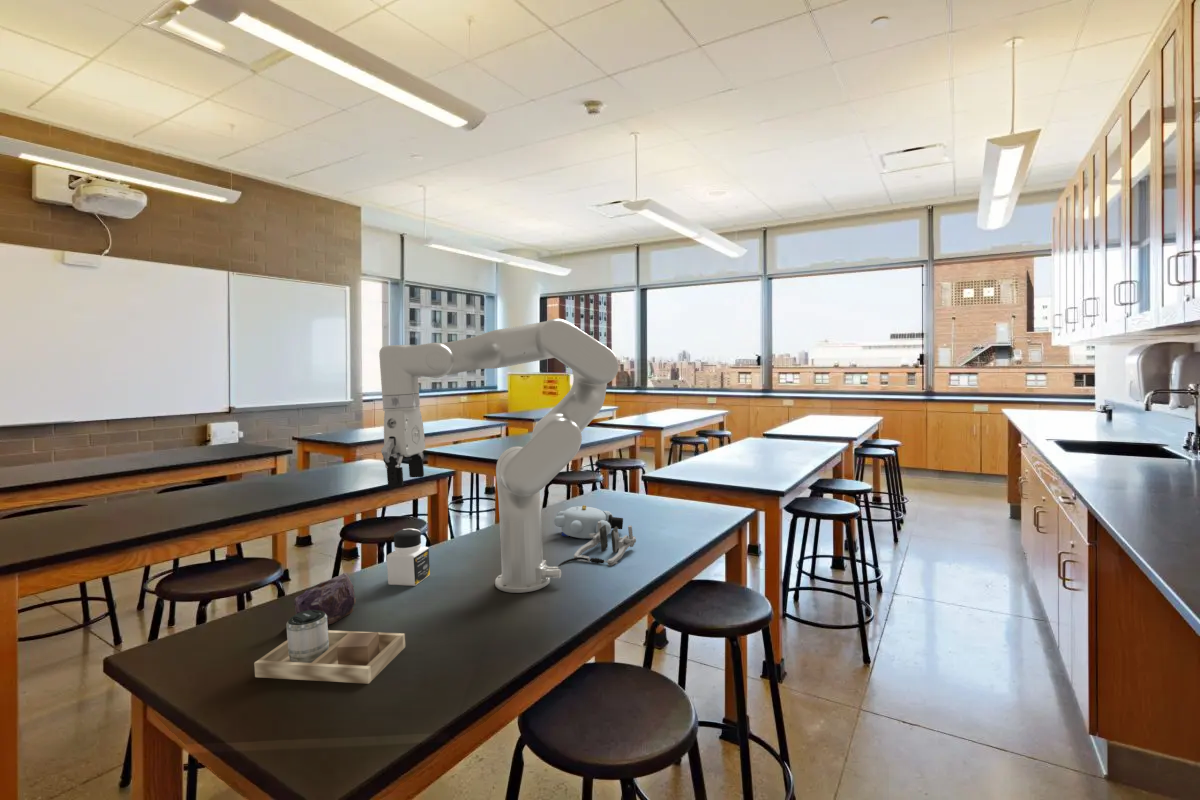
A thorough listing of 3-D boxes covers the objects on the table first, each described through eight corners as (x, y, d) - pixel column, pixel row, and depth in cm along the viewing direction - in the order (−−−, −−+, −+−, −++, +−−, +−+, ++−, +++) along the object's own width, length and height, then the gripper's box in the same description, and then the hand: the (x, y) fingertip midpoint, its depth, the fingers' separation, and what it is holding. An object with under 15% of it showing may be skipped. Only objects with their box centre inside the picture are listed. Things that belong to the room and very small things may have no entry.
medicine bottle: (415, 586, 134) (413, 535, 133) (387, 585, 136) (384, 534, 135) (430, 575, 141) (428, 526, 140) (403, 574, 143) (401, 526, 142)
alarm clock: (550, 541, 164) (620, 548, 163) (552, 512, 163) (622, 518, 162) (558, 524, 181) (622, 530, 180) (560, 497, 181) (624, 503, 179)
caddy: (405, 650, 103) (404, 633, 103) (368, 688, 92) (367, 668, 91) (303, 646, 106) (302, 629, 106) (255, 681, 95) (254, 662, 94)
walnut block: (379, 654, 101) (378, 632, 101) (368, 669, 96) (367, 646, 96) (350, 655, 101) (349, 633, 100) (338, 670, 96) (336, 647, 95)
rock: (294, 631, 116) (320, 643, 110) (284, 592, 114) (309, 601, 108) (348, 602, 125) (374, 611, 119) (339, 565, 123) (365, 573, 117)
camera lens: (315, 647, 104) (312, 604, 104) (337, 655, 101) (334, 611, 101) (281, 663, 99) (278, 618, 98) (303, 672, 96) (300, 625, 95)
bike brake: (596, 540, 163) (559, 574, 146) (594, 517, 161) (556, 549, 144) (641, 547, 156) (607, 583, 139) (639, 523, 155) (604, 557, 138)
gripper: (398, 405, 115) (404, 490, 116) (434, 399, 132) (439, 473, 134) (363, 406, 116) (369, 490, 117) (403, 400, 133) (408, 474, 135)
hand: (406, 481), depth 125 cm, fingers open, 9 cm apart
